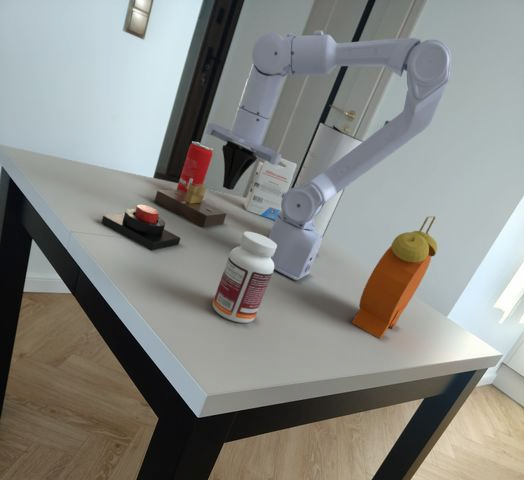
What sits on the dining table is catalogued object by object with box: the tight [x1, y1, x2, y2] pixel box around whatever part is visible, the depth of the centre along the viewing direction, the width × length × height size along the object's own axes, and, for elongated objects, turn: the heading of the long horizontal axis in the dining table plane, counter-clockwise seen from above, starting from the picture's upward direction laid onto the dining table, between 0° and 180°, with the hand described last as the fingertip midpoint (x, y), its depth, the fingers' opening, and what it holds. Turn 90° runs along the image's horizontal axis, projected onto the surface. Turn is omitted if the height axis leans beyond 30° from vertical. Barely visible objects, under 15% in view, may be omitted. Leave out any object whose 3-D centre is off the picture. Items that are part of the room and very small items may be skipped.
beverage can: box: [176, 140, 214, 193], centre depth 113 cm, size 5×5×12 cm
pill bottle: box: [212, 231, 277, 324], centre depth 68 cm, size 6×6×11 cm
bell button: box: [134, 204, 160, 223], centre depth 82 cm, size 4×4×2 cm
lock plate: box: [153, 189, 227, 228], centre depth 105 cm, size 12×9×3 cm
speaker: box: [293, 122, 364, 238], centre depth 110 cm, size 11×10×26 cm
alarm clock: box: [351, 215, 438, 339], centre depth 84 cm, size 13×6×20 cm, turn 150°
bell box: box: [101, 208, 181, 251], centre depth 83 cm, size 10×8×3 cm
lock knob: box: [184, 183, 208, 204], centre depth 104 cm, size 5×1×4 cm, turn 156°
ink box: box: [243, 157, 298, 221], centre depth 128 cm, size 8×5×15 cm, turn 99°
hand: (228, 188), depth 94 cm, fingers closed
